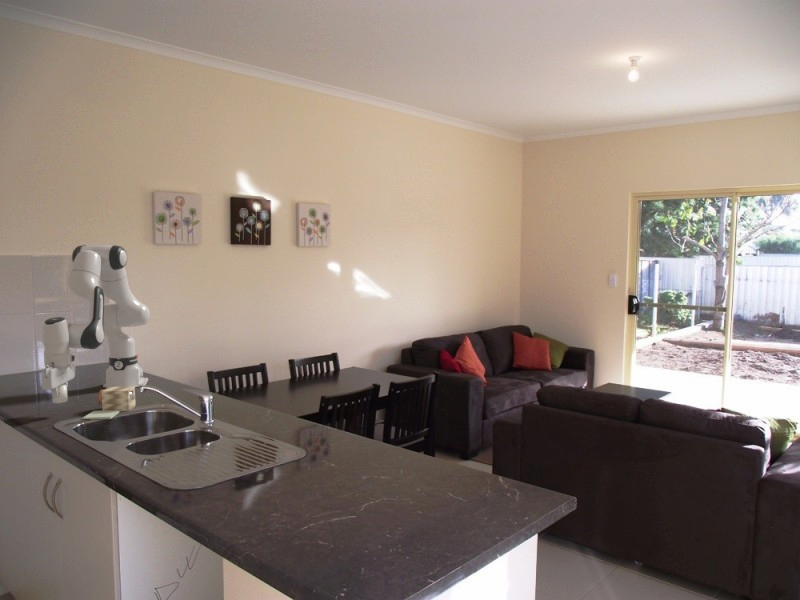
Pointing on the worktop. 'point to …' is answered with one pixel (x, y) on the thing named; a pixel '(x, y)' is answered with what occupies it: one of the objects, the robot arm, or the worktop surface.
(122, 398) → the bearing block
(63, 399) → the spacer
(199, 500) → the worktop surface
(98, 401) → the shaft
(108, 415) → the pad
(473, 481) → the worktop surface
